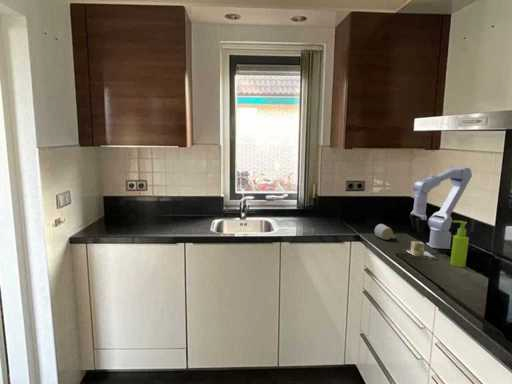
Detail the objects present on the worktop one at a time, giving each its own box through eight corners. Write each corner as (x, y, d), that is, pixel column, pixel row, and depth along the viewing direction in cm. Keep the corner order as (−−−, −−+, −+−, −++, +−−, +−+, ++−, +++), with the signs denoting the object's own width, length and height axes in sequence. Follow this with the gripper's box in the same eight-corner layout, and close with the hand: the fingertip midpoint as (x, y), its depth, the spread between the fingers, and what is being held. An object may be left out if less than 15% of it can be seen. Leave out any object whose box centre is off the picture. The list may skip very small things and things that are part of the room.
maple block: (419, 253, 167) (420, 241, 166) (423, 256, 162) (424, 244, 161) (410, 252, 167) (411, 241, 166) (413, 255, 163) (414, 243, 162)
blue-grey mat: (427, 251, 170) (427, 251, 170) (437, 259, 158) (437, 259, 158) (398, 250, 171) (398, 249, 171) (406, 257, 159) (406, 257, 159)
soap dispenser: (448, 261, 157) (454, 219, 154) (466, 264, 153) (471, 221, 150) (446, 264, 153) (451, 221, 150) (464, 268, 148) (469, 223, 145)
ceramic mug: (381, 240, 187) (383, 227, 186) (373, 236, 195) (374, 223, 194) (398, 240, 190) (400, 227, 189) (389, 236, 198) (391, 223, 196)
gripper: (407, 201, 179) (404, 226, 181) (417, 206, 165) (414, 233, 167) (420, 202, 179) (418, 227, 181) (432, 207, 165) (429, 234, 166)
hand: (417, 230), depth 174 cm, fingers open, 7 cm apart
